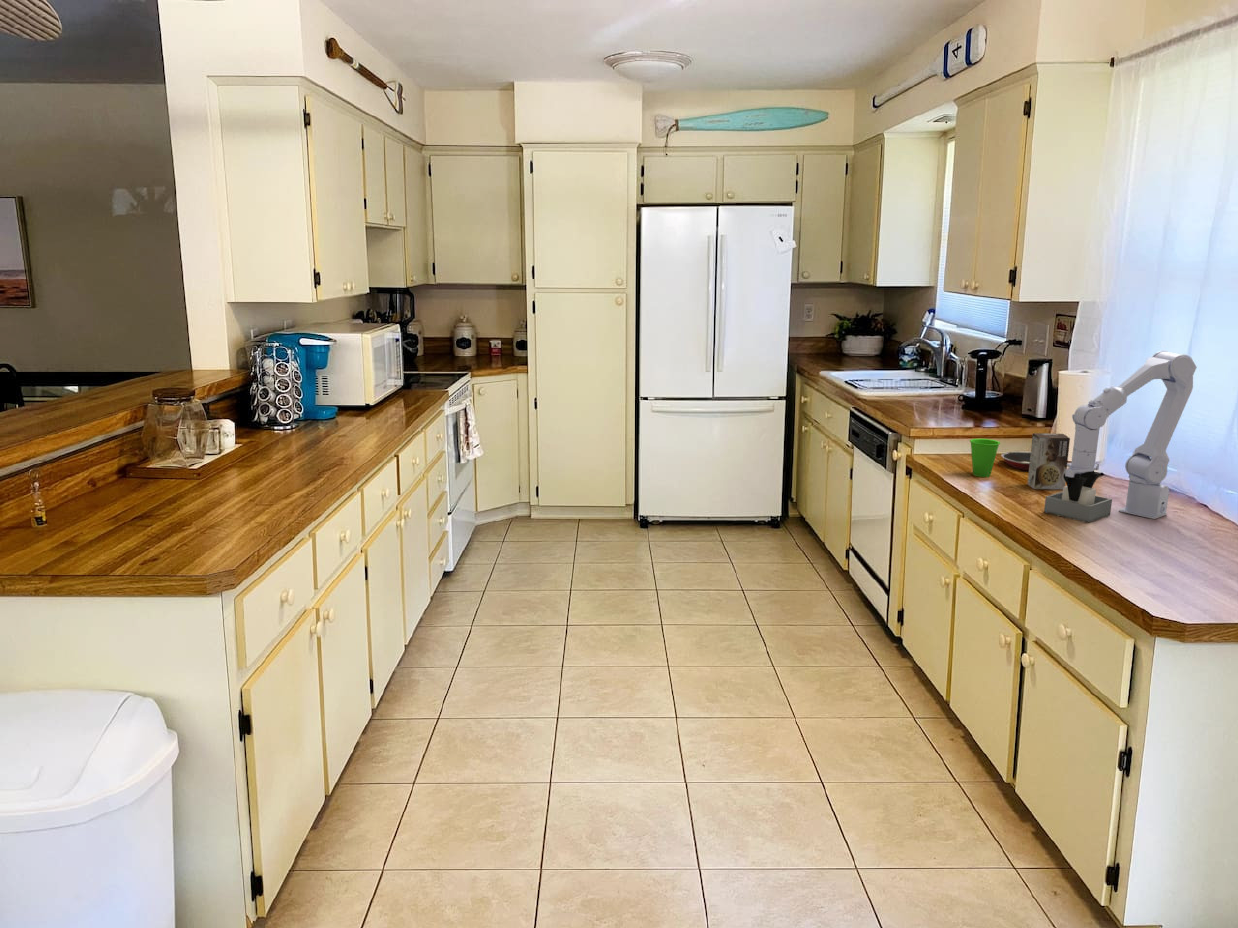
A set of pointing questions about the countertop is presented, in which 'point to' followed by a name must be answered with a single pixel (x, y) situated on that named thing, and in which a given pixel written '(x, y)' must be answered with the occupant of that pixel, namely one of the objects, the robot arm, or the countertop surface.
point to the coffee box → (1048, 461)
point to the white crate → (1081, 495)
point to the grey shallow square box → (1078, 508)
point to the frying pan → (1017, 459)
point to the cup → (983, 456)
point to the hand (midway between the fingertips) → (1078, 498)
